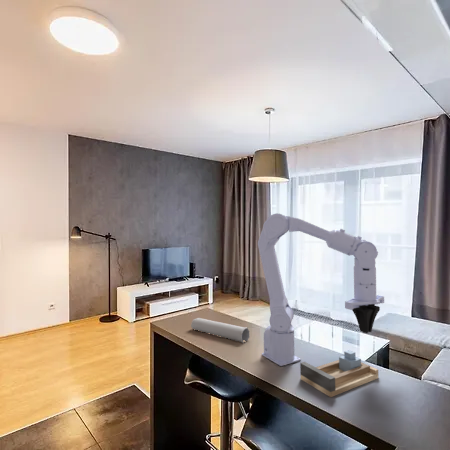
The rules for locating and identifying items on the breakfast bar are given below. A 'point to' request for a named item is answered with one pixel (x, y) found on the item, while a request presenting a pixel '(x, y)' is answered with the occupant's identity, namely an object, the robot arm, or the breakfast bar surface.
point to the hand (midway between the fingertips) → (365, 331)
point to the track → (336, 377)
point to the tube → (221, 329)
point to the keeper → (349, 361)
